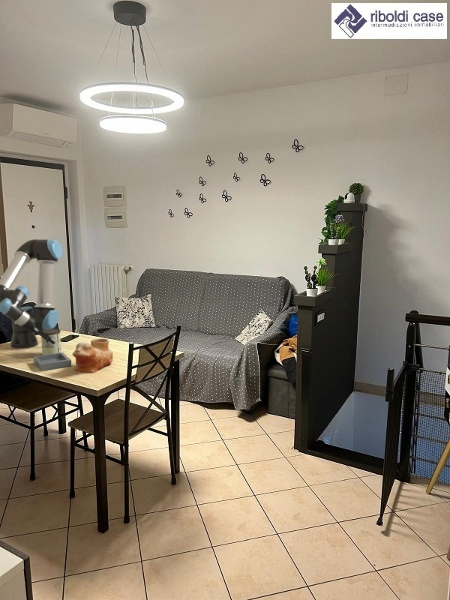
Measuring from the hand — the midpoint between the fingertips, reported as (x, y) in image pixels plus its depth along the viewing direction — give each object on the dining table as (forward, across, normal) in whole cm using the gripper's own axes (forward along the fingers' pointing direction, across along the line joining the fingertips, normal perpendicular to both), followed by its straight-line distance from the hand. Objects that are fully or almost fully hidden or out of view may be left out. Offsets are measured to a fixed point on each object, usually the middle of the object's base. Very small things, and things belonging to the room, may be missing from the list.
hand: (55, 343), depth 251 cm
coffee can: (+3, 0, -6) cm, 7 cm away
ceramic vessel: (+12, +34, +3) cm, 36 cm away
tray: (0, +18, -9) cm, 20 cm away
